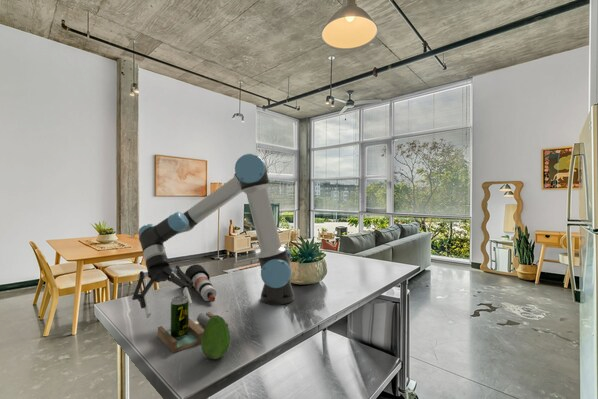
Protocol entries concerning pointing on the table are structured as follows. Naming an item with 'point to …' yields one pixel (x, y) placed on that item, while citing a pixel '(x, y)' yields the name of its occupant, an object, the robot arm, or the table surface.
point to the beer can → (179, 317)
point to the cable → (201, 282)
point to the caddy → (188, 341)
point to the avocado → (215, 338)
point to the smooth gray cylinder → (203, 319)
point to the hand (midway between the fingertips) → (170, 310)
